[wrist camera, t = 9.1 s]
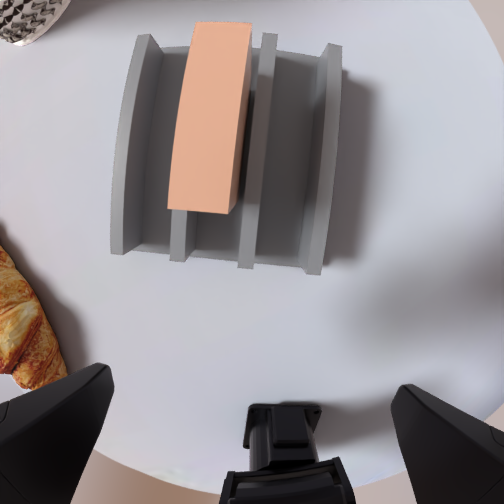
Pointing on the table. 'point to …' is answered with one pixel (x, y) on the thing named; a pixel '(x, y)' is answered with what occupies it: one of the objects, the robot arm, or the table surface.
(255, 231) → the dish rack
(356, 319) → the table surface
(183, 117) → the terracotta plate
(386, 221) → the table surface
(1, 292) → the croissant
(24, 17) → the black-white patterned cylinder
